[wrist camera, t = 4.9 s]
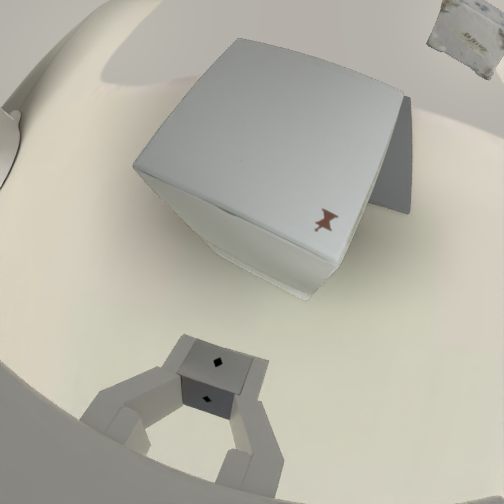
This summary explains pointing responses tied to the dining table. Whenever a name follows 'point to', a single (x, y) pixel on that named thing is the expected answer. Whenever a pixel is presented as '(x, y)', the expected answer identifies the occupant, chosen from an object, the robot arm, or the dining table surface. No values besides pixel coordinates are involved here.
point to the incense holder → (470, 34)
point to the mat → (396, 166)
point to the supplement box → (274, 160)
